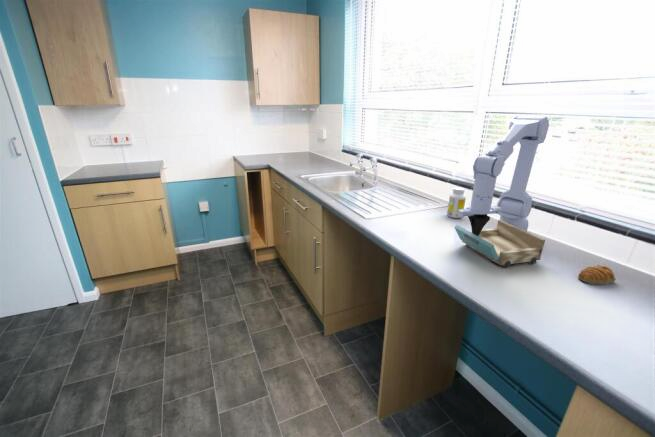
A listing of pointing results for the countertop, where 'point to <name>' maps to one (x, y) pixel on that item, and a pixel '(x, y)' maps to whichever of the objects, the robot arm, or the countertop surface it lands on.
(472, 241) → the panel
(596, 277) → the pastry
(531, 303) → the countertop surface
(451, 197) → the supplement bottle
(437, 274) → the countertop surface
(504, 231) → the tray
